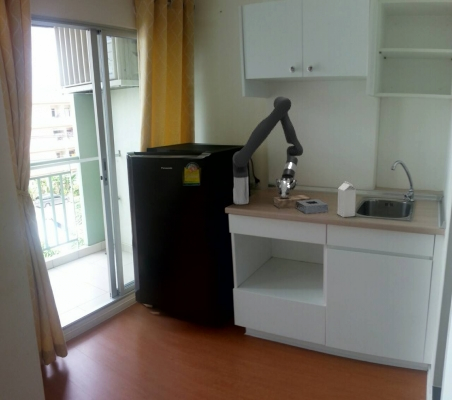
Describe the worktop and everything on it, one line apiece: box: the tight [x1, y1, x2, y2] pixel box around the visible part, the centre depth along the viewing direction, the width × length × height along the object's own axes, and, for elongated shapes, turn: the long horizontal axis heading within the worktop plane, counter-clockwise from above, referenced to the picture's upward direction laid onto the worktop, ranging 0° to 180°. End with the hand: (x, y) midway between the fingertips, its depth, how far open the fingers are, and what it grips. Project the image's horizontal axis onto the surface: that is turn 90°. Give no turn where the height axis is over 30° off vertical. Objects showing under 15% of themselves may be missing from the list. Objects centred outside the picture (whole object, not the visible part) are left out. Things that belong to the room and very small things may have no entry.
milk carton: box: [336, 180, 357, 218], centre depth 229 cm, size 7×7×19 cm
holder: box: [295, 198, 329, 215], centre depth 244 cm, size 14×14×4 cm
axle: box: [280, 180, 289, 200], centre depth 253 cm, size 4×4×16 cm
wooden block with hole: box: [273, 194, 311, 210], centre depth 256 cm, size 20×10×5 cm, turn 102°
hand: (283, 194), depth 252 cm, fingers closed on axle, 4 cm apart
